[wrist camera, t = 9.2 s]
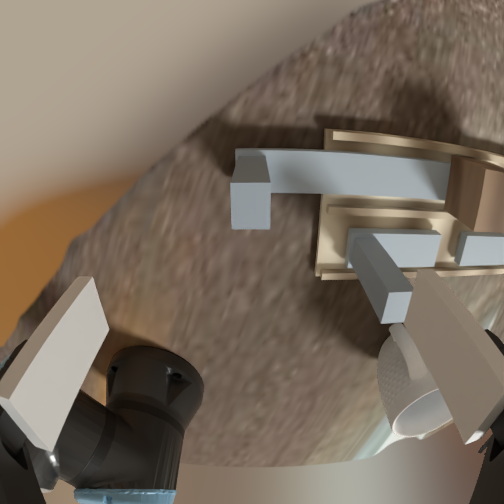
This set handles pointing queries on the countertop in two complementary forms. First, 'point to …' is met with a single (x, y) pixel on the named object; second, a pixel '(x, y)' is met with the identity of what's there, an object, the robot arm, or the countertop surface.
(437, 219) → the lane board
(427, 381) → the mug
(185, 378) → the robot arm
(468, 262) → the broken strip
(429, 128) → the countertop surface
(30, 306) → the countertop surface
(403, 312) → the broken strip
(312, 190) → the strip
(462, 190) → the walnut block
